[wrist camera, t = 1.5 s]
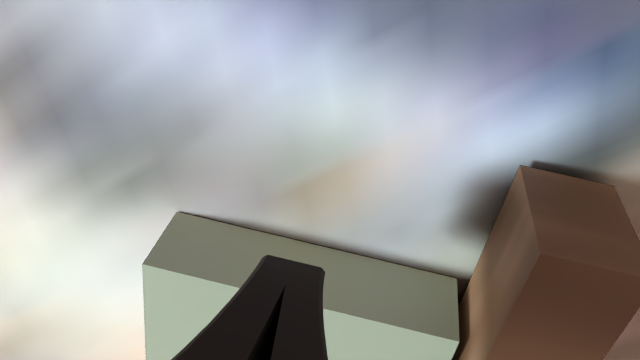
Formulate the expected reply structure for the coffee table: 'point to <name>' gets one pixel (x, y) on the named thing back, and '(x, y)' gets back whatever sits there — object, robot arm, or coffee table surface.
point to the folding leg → (552, 274)
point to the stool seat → (338, 293)
